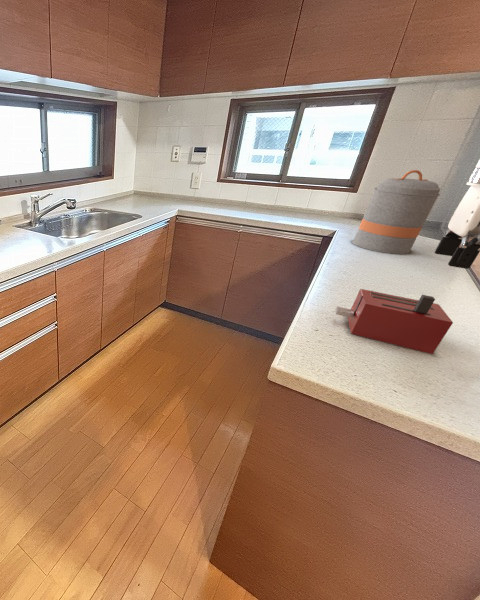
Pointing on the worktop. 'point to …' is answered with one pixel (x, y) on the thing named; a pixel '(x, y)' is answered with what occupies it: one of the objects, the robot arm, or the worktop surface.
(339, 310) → the brushed metal plate
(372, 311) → the toaster
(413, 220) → the storage container
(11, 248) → the worktop surface
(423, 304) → the slider
